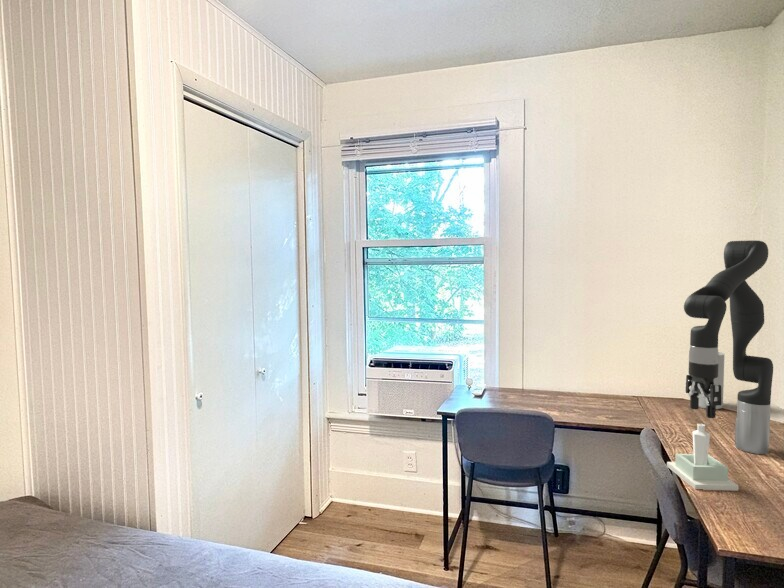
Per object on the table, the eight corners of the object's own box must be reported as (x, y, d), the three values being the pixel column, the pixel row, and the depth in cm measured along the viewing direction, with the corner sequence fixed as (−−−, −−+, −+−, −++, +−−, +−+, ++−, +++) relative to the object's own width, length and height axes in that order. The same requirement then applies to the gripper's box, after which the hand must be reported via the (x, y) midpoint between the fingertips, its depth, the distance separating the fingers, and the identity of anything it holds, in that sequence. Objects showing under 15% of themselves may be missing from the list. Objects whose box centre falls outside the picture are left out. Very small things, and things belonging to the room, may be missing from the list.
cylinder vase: (687, 405, 216) (688, 352, 215) (694, 400, 225) (695, 349, 224) (719, 411, 207) (721, 356, 206) (725, 405, 216) (727, 352, 215)
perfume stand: (666, 466, 151) (667, 449, 151) (705, 467, 150) (705, 450, 150) (695, 489, 135) (695, 471, 135) (738, 490, 135) (738, 472, 134)
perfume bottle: (709, 471, 144) (711, 424, 143) (707, 476, 140) (709, 428, 139) (692, 467, 147) (693, 421, 146) (689, 472, 143) (691, 424, 142)
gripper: (731, 365, 133) (730, 421, 134) (702, 356, 148) (701, 406, 149) (704, 365, 134) (703, 420, 135) (677, 356, 148) (676, 406, 149)
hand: (702, 413), depth 142 cm, fingers open, 8 cm apart
